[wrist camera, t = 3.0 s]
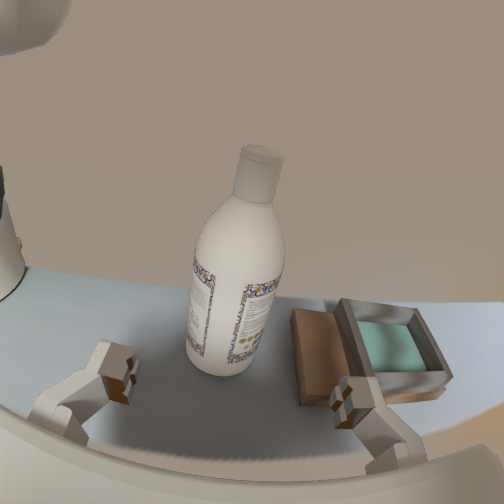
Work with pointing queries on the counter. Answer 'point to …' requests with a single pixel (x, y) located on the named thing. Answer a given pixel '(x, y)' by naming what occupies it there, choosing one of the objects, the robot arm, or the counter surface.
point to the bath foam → (237, 268)
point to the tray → (367, 352)
